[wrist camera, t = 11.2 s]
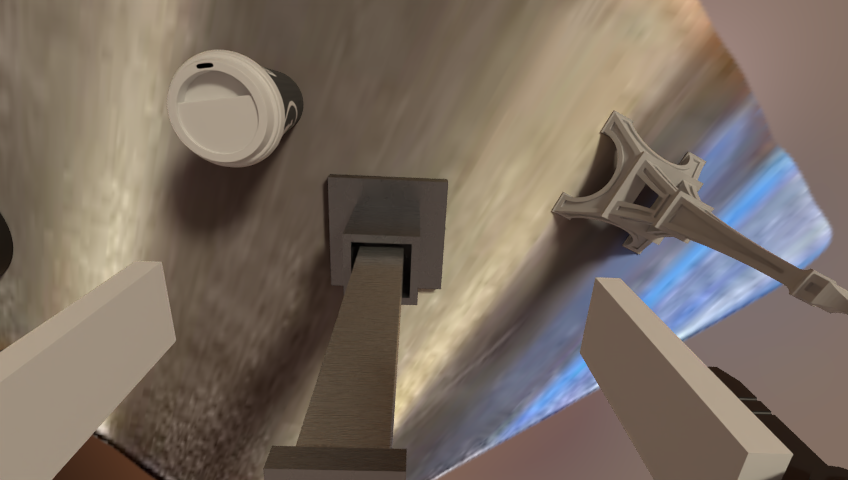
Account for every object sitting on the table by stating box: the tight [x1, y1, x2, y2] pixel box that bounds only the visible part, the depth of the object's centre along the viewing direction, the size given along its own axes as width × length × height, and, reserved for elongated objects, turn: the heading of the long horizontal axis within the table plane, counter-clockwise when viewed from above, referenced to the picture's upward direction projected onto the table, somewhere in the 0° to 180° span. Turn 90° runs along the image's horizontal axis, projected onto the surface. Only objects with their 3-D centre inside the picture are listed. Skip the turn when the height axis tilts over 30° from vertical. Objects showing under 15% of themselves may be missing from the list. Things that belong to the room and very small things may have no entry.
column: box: [263, 246, 407, 480], centre depth 32 cm, size 6×6×27 cm
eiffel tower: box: [552, 111, 848, 315], centre depth 39 cm, size 13×13×30 cm
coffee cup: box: [167, 50, 303, 167], centre depth 42 cm, size 10×10×15 cm
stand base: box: [328, 174, 448, 305], centre depth 49 cm, size 14×14×12 cm
